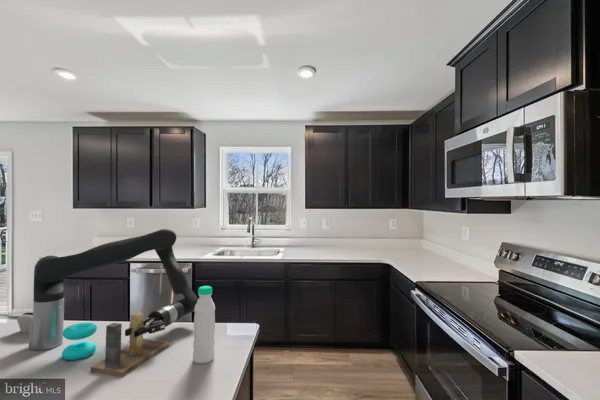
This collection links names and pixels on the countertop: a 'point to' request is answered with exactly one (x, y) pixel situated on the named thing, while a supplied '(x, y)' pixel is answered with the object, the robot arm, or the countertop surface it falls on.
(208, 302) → the water bottle
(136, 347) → the brass leg
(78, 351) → the donuts
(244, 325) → the countertop surface
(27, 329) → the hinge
